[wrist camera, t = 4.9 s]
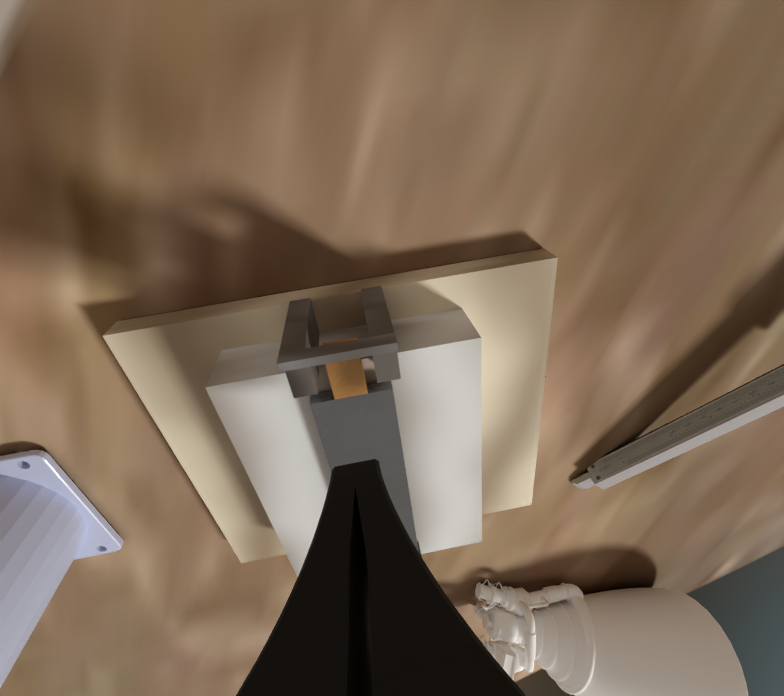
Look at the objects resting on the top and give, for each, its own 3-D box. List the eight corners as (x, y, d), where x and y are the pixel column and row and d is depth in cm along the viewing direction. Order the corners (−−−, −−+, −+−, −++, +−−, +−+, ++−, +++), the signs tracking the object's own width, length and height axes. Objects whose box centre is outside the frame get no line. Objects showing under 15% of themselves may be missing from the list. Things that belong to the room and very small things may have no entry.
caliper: (894, 229, 19) (1113, 276, 14) (900, 243, 19) (1113, 294, 14) (567, 477, 26) (628, 573, 20) (577, 483, 26) (639, 578, 21)
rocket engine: (475, 768, 23) (744, 830, 24) (515, 562, 26) (757, 629, 27) (430, 655, 34) (616, 702, 36) (461, 520, 37) (634, 568, 38)
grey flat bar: (359, 554, 20) (360, 565, 20) (296, 348, 13) (295, 357, 13) (416, 542, 20) (419, 553, 20) (383, 333, 13) (385, 341, 13)
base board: (245, 544, 24) (224, 648, 20) (115, 319, 16) (23, 409, 11) (523, 488, 25) (567, 576, 21) (544, 246, 17) (628, 301, 12)
